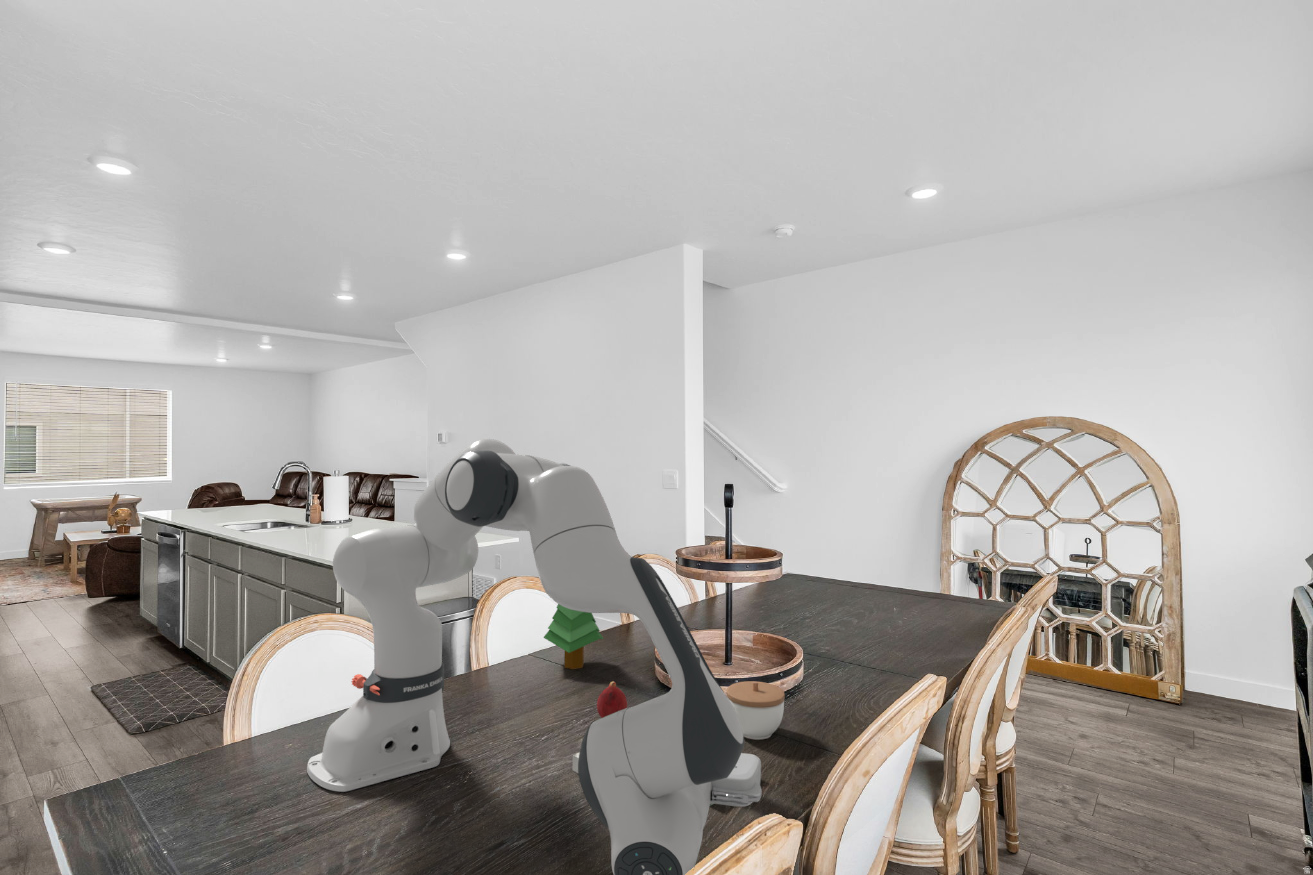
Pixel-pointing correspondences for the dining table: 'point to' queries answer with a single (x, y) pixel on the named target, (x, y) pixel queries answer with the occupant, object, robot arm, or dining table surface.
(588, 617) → the decorative tree
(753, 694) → the lidded jar
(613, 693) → the onion
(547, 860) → the dining table surface
